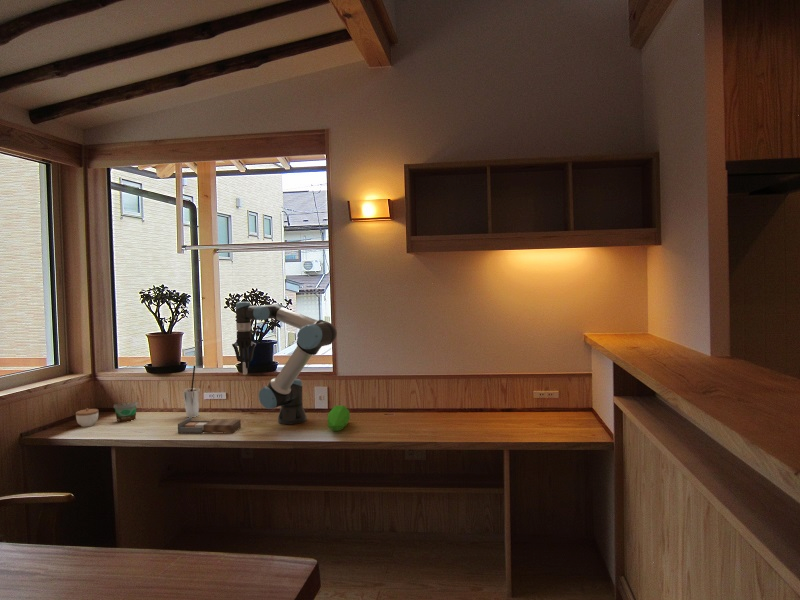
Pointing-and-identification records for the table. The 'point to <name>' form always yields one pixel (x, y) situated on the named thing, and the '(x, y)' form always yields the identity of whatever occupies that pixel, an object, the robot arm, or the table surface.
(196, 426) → the cream tile
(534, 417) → the table surface
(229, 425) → the walnut board
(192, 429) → the tray
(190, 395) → the utensil holder
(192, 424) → the terracotta tile
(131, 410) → the food container
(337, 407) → the green oblong piece
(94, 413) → the lidded jar
